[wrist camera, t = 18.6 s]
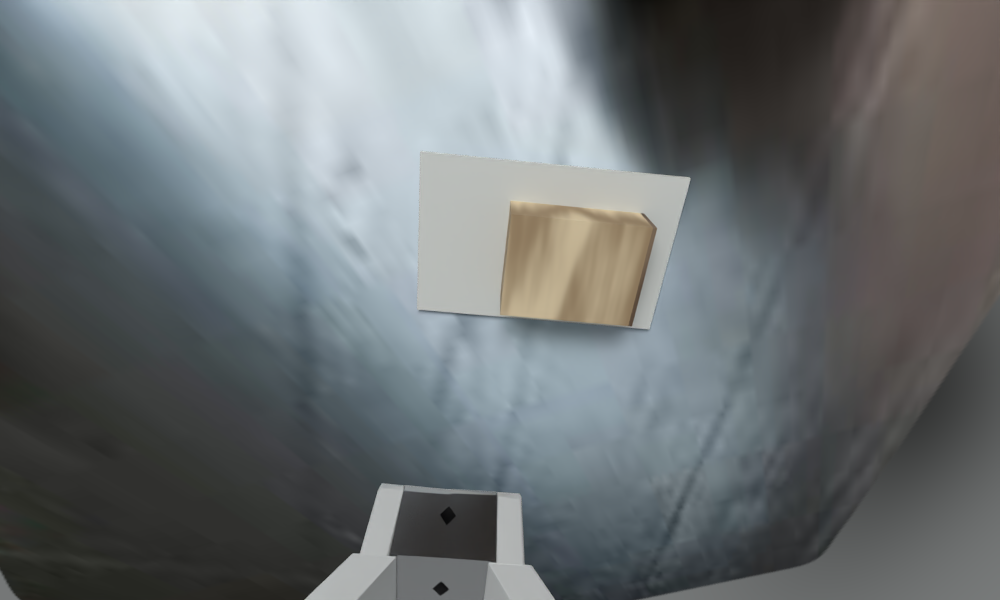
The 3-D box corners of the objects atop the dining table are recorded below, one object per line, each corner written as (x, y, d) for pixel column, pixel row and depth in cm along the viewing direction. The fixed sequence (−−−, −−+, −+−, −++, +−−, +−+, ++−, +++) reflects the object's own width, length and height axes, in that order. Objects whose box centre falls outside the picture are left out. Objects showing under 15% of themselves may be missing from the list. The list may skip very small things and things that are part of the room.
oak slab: (510, 200, 36) (644, 213, 37) (500, 294, 40) (622, 305, 40) (511, 214, 33) (657, 228, 34) (500, 314, 37) (632, 326, 37)
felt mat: (688, 177, 36) (690, 178, 36) (648, 327, 42) (649, 329, 41) (420, 151, 35) (420, 151, 35) (417, 307, 41) (417, 309, 41)
